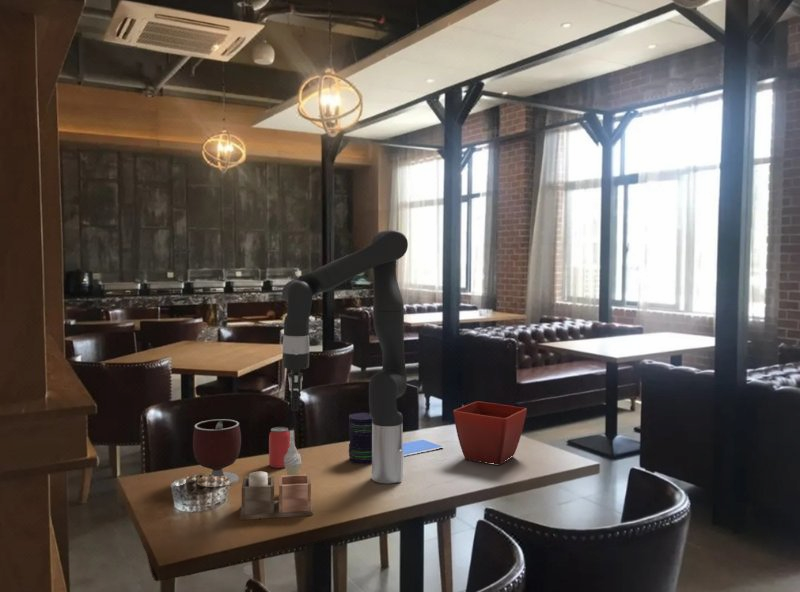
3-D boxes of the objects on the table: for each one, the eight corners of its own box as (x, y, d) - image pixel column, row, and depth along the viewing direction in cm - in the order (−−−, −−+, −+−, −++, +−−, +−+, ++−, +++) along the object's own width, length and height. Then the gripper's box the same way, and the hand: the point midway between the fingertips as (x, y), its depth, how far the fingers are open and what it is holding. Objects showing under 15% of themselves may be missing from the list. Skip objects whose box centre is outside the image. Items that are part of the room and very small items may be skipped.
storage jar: (367, 466, 209) (367, 420, 208) (342, 461, 214) (342, 416, 213) (384, 458, 217) (384, 414, 217) (360, 454, 222) (360, 411, 222)
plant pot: (527, 456, 222) (528, 407, 221) (504, 470, 205) (505, 418, 205) (476, 447, 232) (477, 400, 231) (451, 460, 216) (451, 410, 215)
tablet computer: (399, 459, 218) (399, 455, 218) (379, 450, 229) (379, 447, 229) (444, 450, 230) (444, 446, 229) (423, 442, 240) (423, 438, 240)
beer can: (265, 467, 207) (264, 430, 207) (276, 461, 213) (276, 425, 213) (282, 470, 205) (282, 432, 204) (293, 464, 211) (293, 427, 210)
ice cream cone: (284, 488, 188) (284, 437, 187) (302, 488, 188) (302, 437, 187) (283, 495, 183) (282, 442, 182) (301, 494, 183) (301, 442, 182)
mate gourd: (190, 476, 198) (190, 411, 197) (237, 471, 203) (236, 408, 203) (196, 493, 184) (195, 423, 183) (245, 486, 189) (245, 419, 188)
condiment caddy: (311, 502, 177) (311, 466, 177) (312, 515, 168) (312, 477, 168) (241, 506, 174) (241, 469, 173) (239, 519, 165) (239, 481, 164)
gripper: (282, 347, 190) (281, 401, 191) (282, 354, 176) (281, 413, 177) (308, 347, 192) (307, 401, 193) (310, 354, 178) (309, 413, 179)
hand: (294, 407), depth 185 cm, fingers open, 8 cm apart
